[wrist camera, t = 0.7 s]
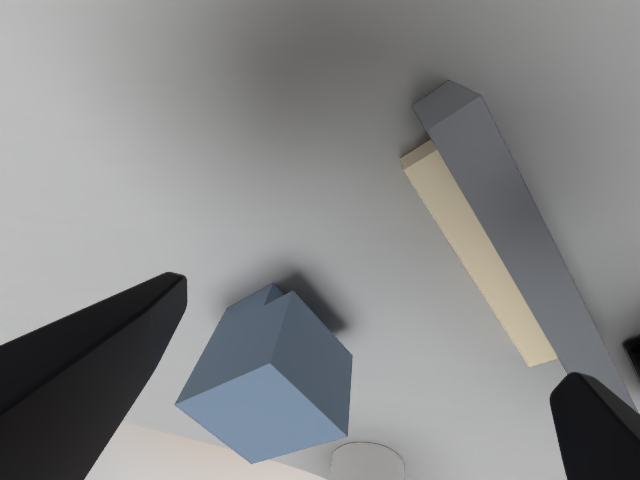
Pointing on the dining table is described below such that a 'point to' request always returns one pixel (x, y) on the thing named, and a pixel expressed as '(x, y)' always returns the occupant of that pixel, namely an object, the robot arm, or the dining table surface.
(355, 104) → the dining table surface
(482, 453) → the dining table surface
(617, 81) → the dining table surface
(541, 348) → the wall board
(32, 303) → the dining table surface
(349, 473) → the cylindrical container
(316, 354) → the blue block
